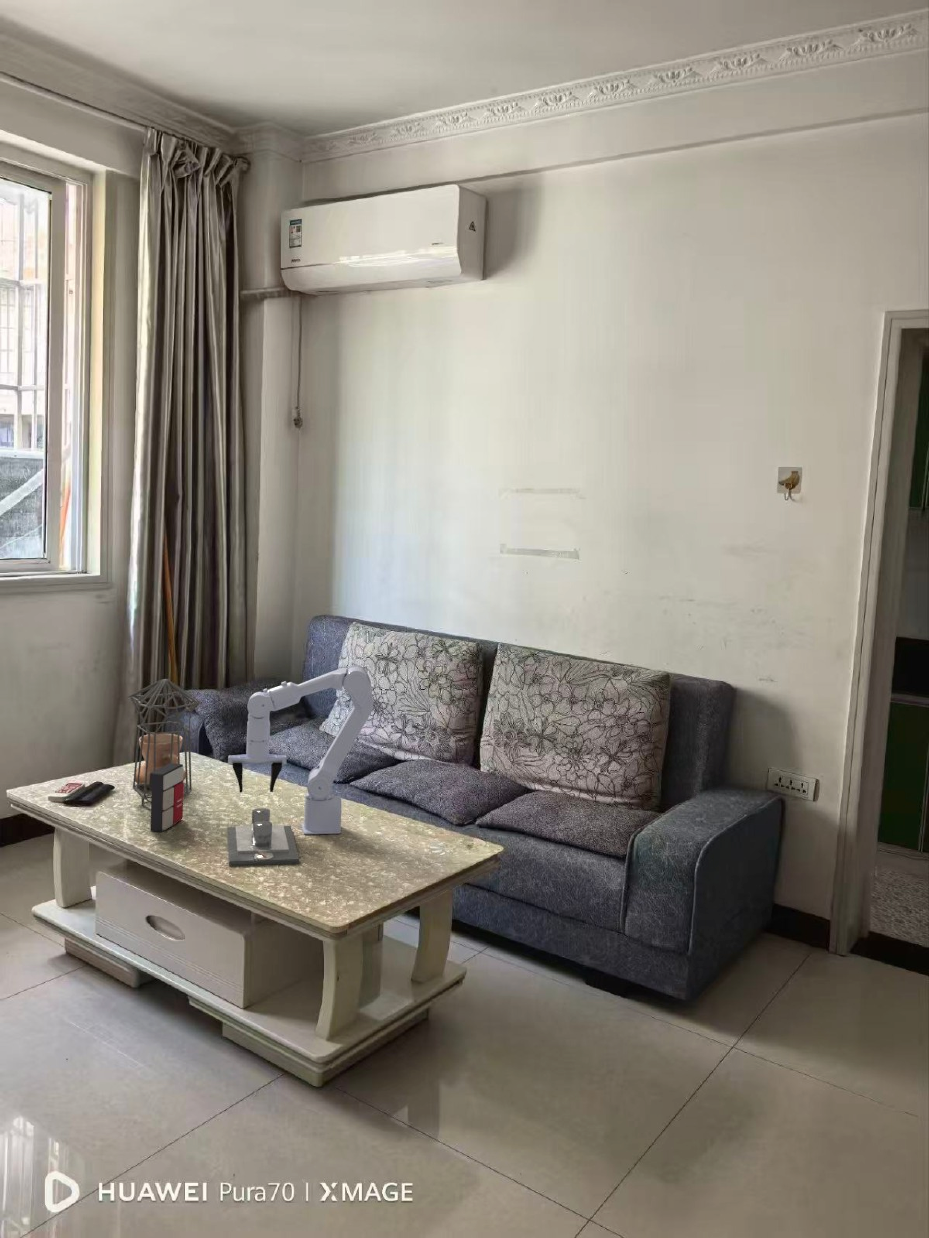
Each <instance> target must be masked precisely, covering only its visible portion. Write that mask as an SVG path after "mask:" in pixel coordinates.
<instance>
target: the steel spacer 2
mask: <svg viewBox="0 0 929 1238" xmlns="http://www.w3.org/2000/svg"><path fill="white" fill-rule="evenodd" d="M272 825H273V823H272V822H271V821H270V822H269V821H257V822H255V823H254V827H253V845H254V846H257V847H266V846H270V845H271V840H272Z"/></svg>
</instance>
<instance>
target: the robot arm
mask: <svg viewBox="0 0 929 1238" xmlns="http://www.w3.org/2000/svg"><path fill="white" fill-rule="evenodd" d="M343 687H344V689H345V690H346V692H347V694H348V695H349V696H350V697H351V701H352V703H353V704H352V705H353V707H352V709H351V711H350V712H349V714H348V716H347V718H346V719H345V721H344V723H343V724H342V726H341V727H340V729H339V730H338V733H337V734H336V737H335V738H334V740H333V741H332V743H331V745H330V747H329V748H328V750H327V752H326V753H325V755H324V756H323V758H322V759H321V760H320V761H319V763H318V764H317V766H315V767H314V768H312V769H311V770H310V771H309V772H308V773H309V774H308V775H307V776H308V777H307V786H306V790H307V792H306V793H305V795H304V797H305V798H304V819H303V822H301V823H300V826H301V829H302V833H303V834H304V835H325V834H326V835H327V834H329V835H330V834H332V835H333V834H334V835H335V834H341V833H342V832H341V827H342V797H341V796H340V795H334V792H332V791H333V784H334V780H336V777H337V774H338V772H339V769H340V767H341V765H342V764H343V762H344V760H345V759H346V757H347V755H348V754H349V752H350V751H351V748H352V747H353V745H354V744H355V741H356V739H357V738H358V736H359V735H360V733H361V731H362V730H363V727H364V726H365V724H366V722H367V721H368V719H369V717H370V716H371V714H372V713H373V711H374V701H373V689H372V682H371V679H370V677H369V674H368V672H367V670H366V669H365V667H363V666H361V665H357V664H353V665H350V666H349V667H342V668H341V667H340V668H338V669H335V670H332V671H329V672H326V673H324V674H322V675H319V676H317V677H315V678H312V679H309V680H306V681H304V682H301V683H299V684H297V683H294V682H293V681H290V682H287V680H285V681H282V682H281V684H280V685H279V686H275V687H272V688H269V689H268V688H264V689H262V691H257V692H255V693H253V694H252V695H250V697H249V699H248V701H247V707H246V709H247V712H248V714H247V719H248V720H247V722H246V723H247V725H246V751H245V753H246V754H236V755H235V754H234V755H230V754H229V755H227V756H228V758H227V759H228V760H227V764H228V766H229V765H230V766H232V769H233V772H234V774H235V777H236V779H237V783H238V789H239V793H240V794H241V793H243V772H244V769H243V767H244V766H243V765H264V764H265V765H270V782H269V792H270V793H273V792H274V788H275V784H276V783H277V779H278V776H279V774H280V773H281V771H282V768H283V765H287V755H285V754H273V753H270V735H271V721H270V712H277V711H279V710H282V709H285V708H289V707H290V706H294V705H296V704H299V703H300V700H301V698H302V697H304V696H308V695H310V694H314V693H318V692H322V691H325V690H327V689H328V690H329V689H334V690H338V691H341V692H342V691H343Z"/></svg>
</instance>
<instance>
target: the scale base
mask: <svg viewBox="0 0 929 1238" xmlns="http://www.w3.org/2000/svg"><path fill="white" fill-rule="evenodd" d="M284 830H285V834H286V839H287V843H288V847H289V852H260V853H237V841H236V829H235V826H227V827H226V833H227V834H226V835H227V836H226V837H227V853H228V855H229V856H228V865H229V867H242V866H243V867H247V866H271V865H272V866H273V865H274V866H278V864H279V866H280V865H299V864H300V857H299V854H298V848H297V846H296V841H295V837H294V833H293V832H294V831H293V829H292V826H291V825H284Z"/></svg>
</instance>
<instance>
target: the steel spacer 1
mask: <svg viewBox="0 0 929 1238" xmlns="http://www.w3.org/2000/svg"><path fill="white" fill-rule="evenodd" d="M270 816H271V810H270V809H268V808H262V807H259V808H254V809H252V810H251V826H252V832H253V827H254V823H255V822H257V821H269V822H271V817H270Z"/></svg>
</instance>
